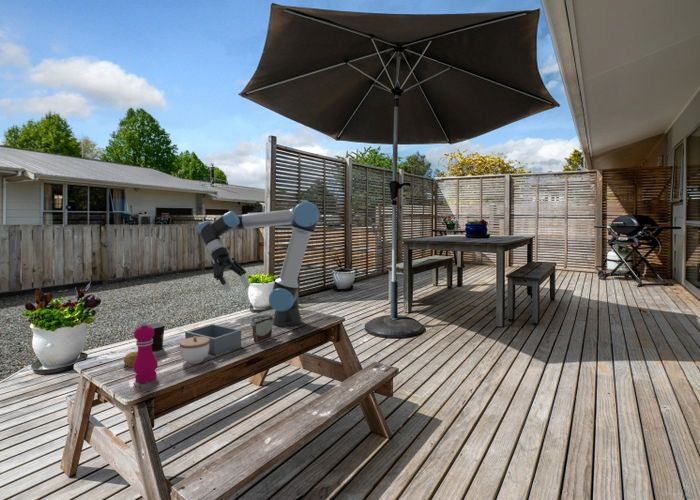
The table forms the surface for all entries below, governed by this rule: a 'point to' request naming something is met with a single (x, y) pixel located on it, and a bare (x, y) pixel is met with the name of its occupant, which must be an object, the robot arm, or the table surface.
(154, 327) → the coffee mug
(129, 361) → the bagel
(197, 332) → the charcoal bin
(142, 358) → the pepper mill
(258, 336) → the food container
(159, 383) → the table surface
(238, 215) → the robot arm
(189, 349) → the lidded jar
